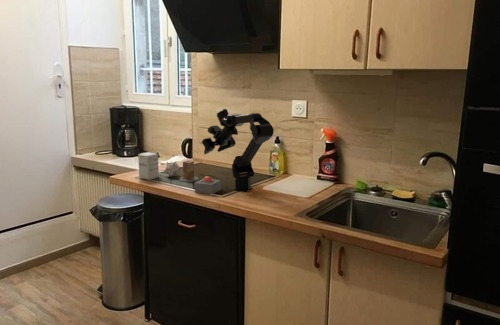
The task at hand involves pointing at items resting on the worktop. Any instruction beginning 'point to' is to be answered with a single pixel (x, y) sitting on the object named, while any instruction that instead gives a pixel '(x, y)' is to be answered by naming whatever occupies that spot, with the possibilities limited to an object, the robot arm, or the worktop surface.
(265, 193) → the worktop surface
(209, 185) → the button housing
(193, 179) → the slate coaster
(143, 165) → the supplement box
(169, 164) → the white crumpled paper
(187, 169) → the brown tapered cup
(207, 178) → the dome button
